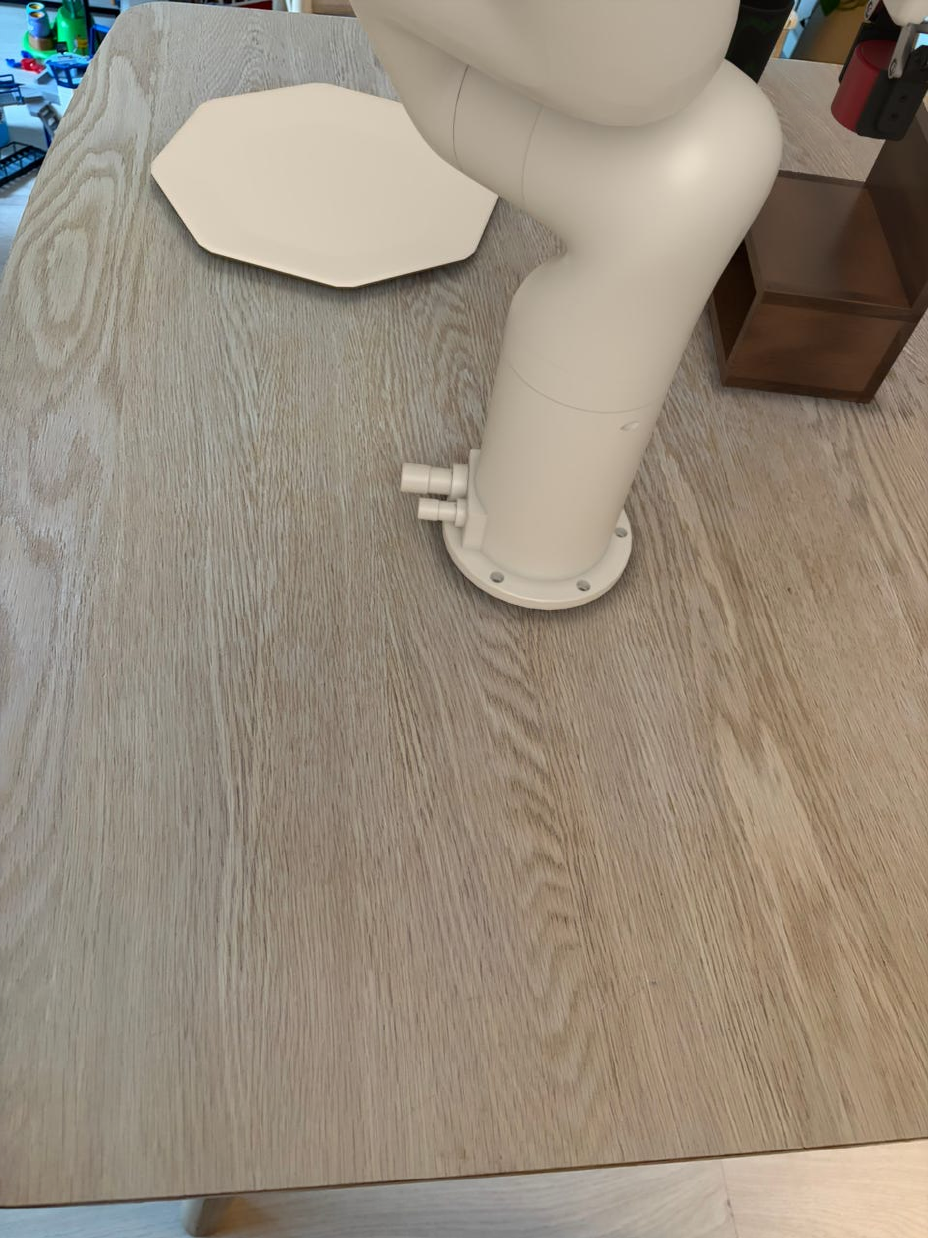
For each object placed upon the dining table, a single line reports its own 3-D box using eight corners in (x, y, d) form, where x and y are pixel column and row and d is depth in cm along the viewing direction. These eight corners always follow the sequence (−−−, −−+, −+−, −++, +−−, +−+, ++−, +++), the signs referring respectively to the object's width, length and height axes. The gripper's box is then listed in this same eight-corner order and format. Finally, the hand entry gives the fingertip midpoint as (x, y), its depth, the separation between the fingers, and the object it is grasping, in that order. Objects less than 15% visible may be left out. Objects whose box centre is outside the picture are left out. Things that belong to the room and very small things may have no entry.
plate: (521, 150, 95) (524, 134, 94) (444, 331, 79) (447, 315, 78) (238, 73, 96) (237, 57, 95) (105, 237, 80) (102, 220, 79)
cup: (662, 98, 104) (699, -30, 94) (728, 96, 106) (771, -30, 96) (693, 141, 100) (735, 11, 90) (761, 137, 102) (810, 11, 92)
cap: (837, 133, 67) (865, 72, 64) (824, 91, 70) (849, 31, 67) (914, 144, 67) (945, 84, 64) (897, 102, 70) (925, 42, 67)
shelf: (722, 386, 80) (804, 200, 67) (699, 259, 89) (767, 74, 76) (869, 403, 81) (979, 224, 68) (831, 277, 90) (922, 97, 77)
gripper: (918, -291, 58) (793, 39, 73) (1000, -177, 48) (837, 177, 63) (1043, -268, 59) (894, 54, 73) (1149, -152, 49) (953, 193, 64)
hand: (869, 108), depth 68 cm, fingers closed on cap, 5 cm apart
